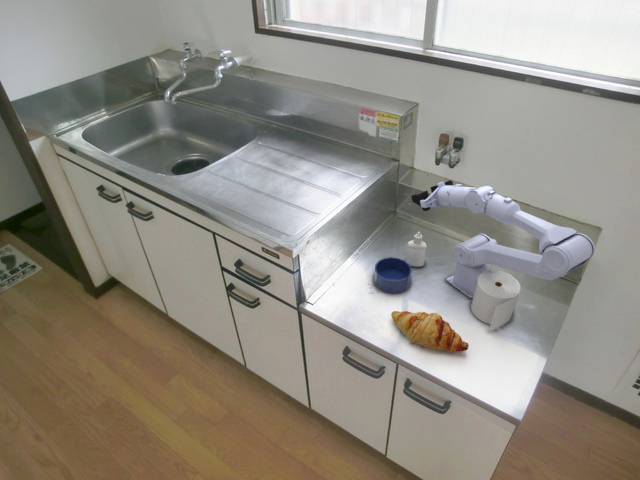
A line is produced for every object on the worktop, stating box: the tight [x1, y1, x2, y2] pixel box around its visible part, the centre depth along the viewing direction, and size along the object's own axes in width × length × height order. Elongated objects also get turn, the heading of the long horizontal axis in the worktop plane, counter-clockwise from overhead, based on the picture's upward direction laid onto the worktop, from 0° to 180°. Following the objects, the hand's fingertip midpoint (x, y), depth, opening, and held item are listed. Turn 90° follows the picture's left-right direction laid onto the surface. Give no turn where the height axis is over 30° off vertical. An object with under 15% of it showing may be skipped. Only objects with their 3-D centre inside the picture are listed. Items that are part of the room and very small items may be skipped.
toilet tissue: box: [470, 269, 521, 332], centre depth 120 cm, size 11×12×10 cm
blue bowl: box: [373, 256, 413, 294], centre depth 133 cm, size 10×10×5 cm
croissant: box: [390, 310, 470, 353], centre depth 116 cm, size 21×10×8 cm, turn 55°
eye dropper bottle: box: [405, 231, 427, 268], centre depth 137 cm, size 4×6×12 cm
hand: (422, 194), depth 136 cm, fingers open, 7 cm apart
